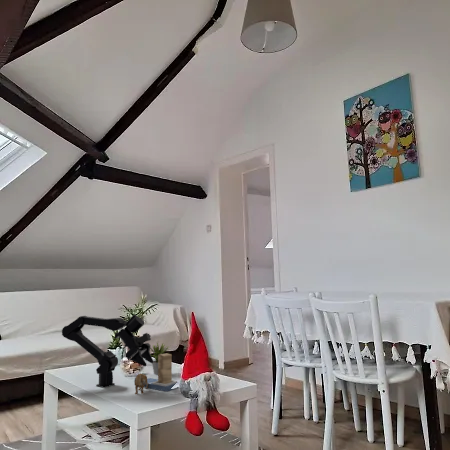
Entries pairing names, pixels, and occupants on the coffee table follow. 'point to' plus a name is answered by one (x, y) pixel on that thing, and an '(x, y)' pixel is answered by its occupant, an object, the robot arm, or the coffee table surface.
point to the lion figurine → (140, 382)
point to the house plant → (157, 352)
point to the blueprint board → (157, 387)
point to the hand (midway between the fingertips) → (149, 364)
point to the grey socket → (164, 384)
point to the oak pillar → (164, 368)
